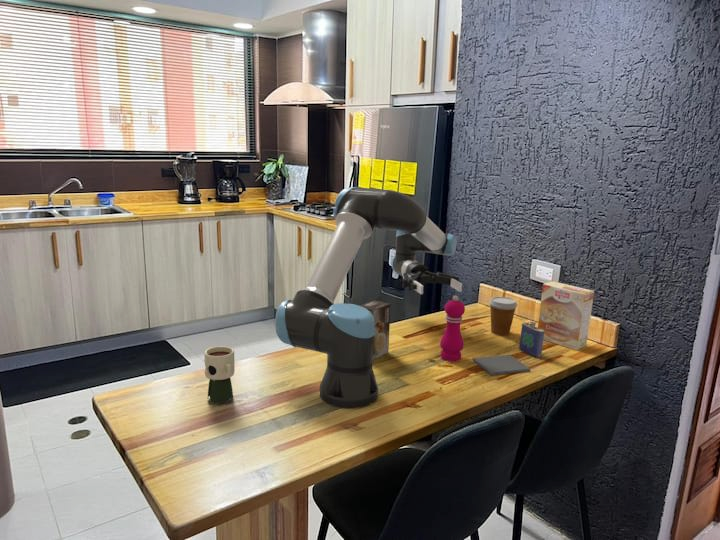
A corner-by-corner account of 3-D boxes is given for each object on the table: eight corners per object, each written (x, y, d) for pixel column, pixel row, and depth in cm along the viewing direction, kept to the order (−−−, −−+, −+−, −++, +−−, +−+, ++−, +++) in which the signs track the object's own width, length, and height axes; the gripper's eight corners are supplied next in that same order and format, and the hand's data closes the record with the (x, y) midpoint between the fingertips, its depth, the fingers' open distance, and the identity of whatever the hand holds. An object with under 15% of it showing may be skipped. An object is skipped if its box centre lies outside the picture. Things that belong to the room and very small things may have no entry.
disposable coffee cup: (507, 339, 187) (511, 305, 184) (481, 332, 193) (485, 300, 190) (518, 332, 195) (521, 300, 192) (493, 326, 200) (496, 294, 197)
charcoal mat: (491, 375, 158) (491, 372, 158) (472, 360, 168) (472, 358, 168) (529, 371, 162) (530, 368, 161) (509, 356, 172) (509, 354, 172)
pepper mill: (466, 356, 171) (471, 295, 166) (457, 364, 165) (462, 300, 160) (444, 351, 174) (449, 291, 170) (435, 358, 168) (439, 296, 164)
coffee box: (372, 347, 175) (374, 299, 171) (388, 352, 172) (391, 303, 168) (354, 355, 168) (356, 305, 164) (371, 361, 164) (374, 310, 161)
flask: (543, 357, 172) (547, 325, 170) (535, 359, 171) (539, 326, 169) (523, 347, 180) (526, 316, 178) (516, 348, 179) (519, 317, 177)
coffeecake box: (535, 337, 190) (542, 283, 185) (546, 333, 195) (552, 280, 190) (576, 351, 179) (584, 293, 175) (587, 346, 184) (595, 290, 179)
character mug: (197, 395, 139) (195, 347, 136) (223, 388, 143) (222, 341, 140) (217, 412, 131) (216, 361, 128) (244, 404, 135) (243, 355, 132)
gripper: (446, 280, 198) (475, 297, 179) (381, 284, 191) (404, 302, 171) (447, 260, 197) (477, 275, 177) (382, 263, 189) (406, 279, 170)
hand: (441, 289), depth 174 cm, fingers open, 13 cm apart
